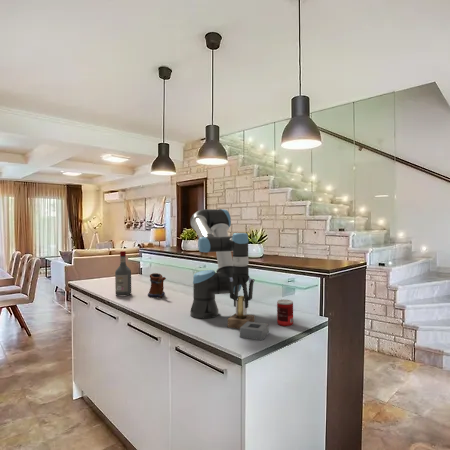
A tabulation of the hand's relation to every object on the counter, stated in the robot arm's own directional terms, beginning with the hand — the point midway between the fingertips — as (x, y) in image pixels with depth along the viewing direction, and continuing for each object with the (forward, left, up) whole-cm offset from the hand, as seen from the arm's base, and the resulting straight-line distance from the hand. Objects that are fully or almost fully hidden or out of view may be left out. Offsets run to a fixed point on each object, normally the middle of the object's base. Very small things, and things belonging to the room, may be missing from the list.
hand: (241, 313), depth 156 cm
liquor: (-100, +33, -6) cm, 105 cm away
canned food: (+19, +10, -6) cm, 22 cm away
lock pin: (0, 0, -6) cm, 6 cm away
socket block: (+10, -10, -6) cm, 15 cm away
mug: (-73, +36, -6) cm, 82 cm away
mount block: (0, 0, -6) cm, 6 cm away
